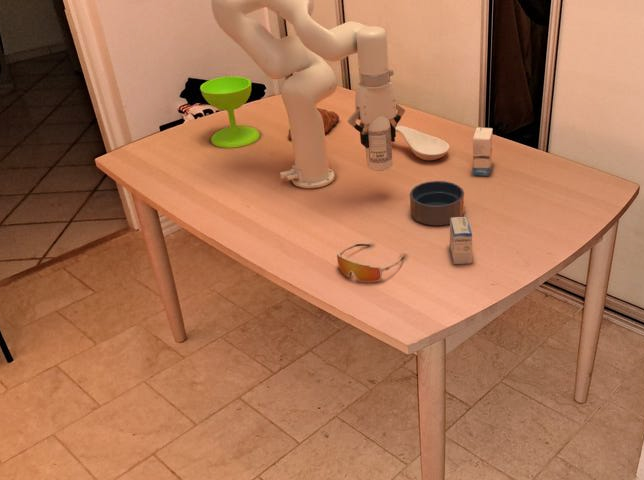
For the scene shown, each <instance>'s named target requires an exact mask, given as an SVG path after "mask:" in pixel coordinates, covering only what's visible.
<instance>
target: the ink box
mask: <svg viewBox="0 0 644 480" xmlns="http://www.w3.org/2000/svg"><path fill="white" fill-rule="evenodd" d="M493 130H494V129H493V128H492V127H480V126H479V127H476V128H475V132H474V133H473V138H472V176H476V177H477V176H480V177H490V173H491V170H492V165H493V164H492V163H493V161H492V160H493Z"/></svg>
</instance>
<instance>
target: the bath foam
mask: <svg viewBox="0 0 644 480" xmlns="http://www.w3.org/2000/svg"><path fill="white" fill-rule="evenodd" d="M366 133H367V134H368V137H369V148H366V147H365V156H366V157H365V158H366V166H367V168H368V169H369V170H371V171H375V172H382V171H387V170H389V169H390V168H392V166H393V147H392V141H391V127H390V121H389V120H388V119H387V118H386V117H384V116H379V117H377V118H376V119H375V120H374V121H373V122H372V123H371V124H369V126H368V129H367V132H366Z"/></svg>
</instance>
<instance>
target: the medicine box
mask: <svg viewBox="0 0 644 480" xmlns="http://www.w3.org/2000/svg"><path fill="white" fill-rule="evenodd" d="M449 250H450V254H451V258H452V263H453V265H466V264H472V261H473V259H472V258H473V232H472V229H471V225H470V222H469V217H468V216H462V217H454V218H450V224H449Z"/></svg>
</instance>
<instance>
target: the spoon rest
mask: <svg viewBox="0 0 644 480" xmlns="http://www.w3.org/2000/svg"><path fill="white" fill-rule="evenodd" d="M395 130H396V132H397V133H399V134H401V135H402V137H403V138H404V140H405V142H406V144H407V145H408V147H409V149H410V150H411V151H412V153H413V154H414V155H415V156H416V157H418V158H419V159H421V160H423V161H434V160H439V159H441V158H442V157H444V156H446V154H447V153H449V150H450V147H451V146H450V144H449V143H448V142H446V140H443V139H442V138H439V137H436V136H434V135H430V134H428V133H425V132H423V131H419V130H417V129H414V128H411V127H409V126H405V125H397V127H395Z"/></svg>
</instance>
